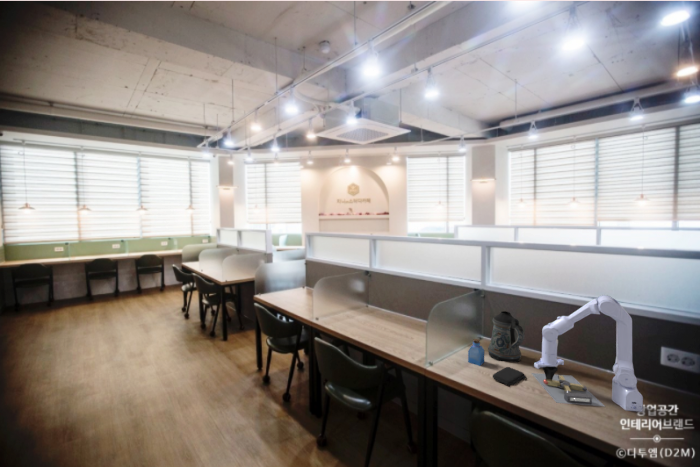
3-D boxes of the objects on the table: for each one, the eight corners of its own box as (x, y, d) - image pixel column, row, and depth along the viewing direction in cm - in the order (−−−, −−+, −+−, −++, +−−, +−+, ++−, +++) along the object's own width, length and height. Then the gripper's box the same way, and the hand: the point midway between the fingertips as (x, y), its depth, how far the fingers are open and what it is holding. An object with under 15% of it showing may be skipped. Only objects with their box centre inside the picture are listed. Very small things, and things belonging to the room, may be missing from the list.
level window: (593, 405, 121) (593, 398, 121) (568, 403, 122) (568, 397, 122) (588, 400, 124) (588, 394, 124) (564, 398, 126) (564, 392, 125)
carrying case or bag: (513, 390, 135) (529, 379, 143) (513, 383, 134) (529, 373, 143) (490, 379, 143) (506, 370, 152) (490, 373, 143) (506, 364, 152)
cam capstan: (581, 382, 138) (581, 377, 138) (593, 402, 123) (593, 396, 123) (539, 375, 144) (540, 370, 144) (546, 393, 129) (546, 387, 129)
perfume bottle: (484, 361, 161) (484, 339, 160) (480, 366, 156) (480, 343, 156) (472, 358, 165) (472, 336, 164) (468, 362, 160) (468, 340, 160)
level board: (605, 408, 120) (605, 406, 120) (556, 404, 123) (556, 402, 123) (571, 377, 144) (571, 375, 144) (530, 374, 147) (530, 373, 147)
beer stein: (494, 347, 178) (494, 306, 177) (531, 358, 164) (531, 313, 163) (483, 356, 167) (483, 312, 165) (521, 368, 153) (522, 320, 152)
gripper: (554, 346, 142) (554, 374, 143) (528, 350, 139) (528, 378, 140) (568, 353, 136) (567, 382, 136) (541, 357, 132) (541, 387, 133)
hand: (548, 381), depth 138 cm, fingers closed, pressing on cam capstan
